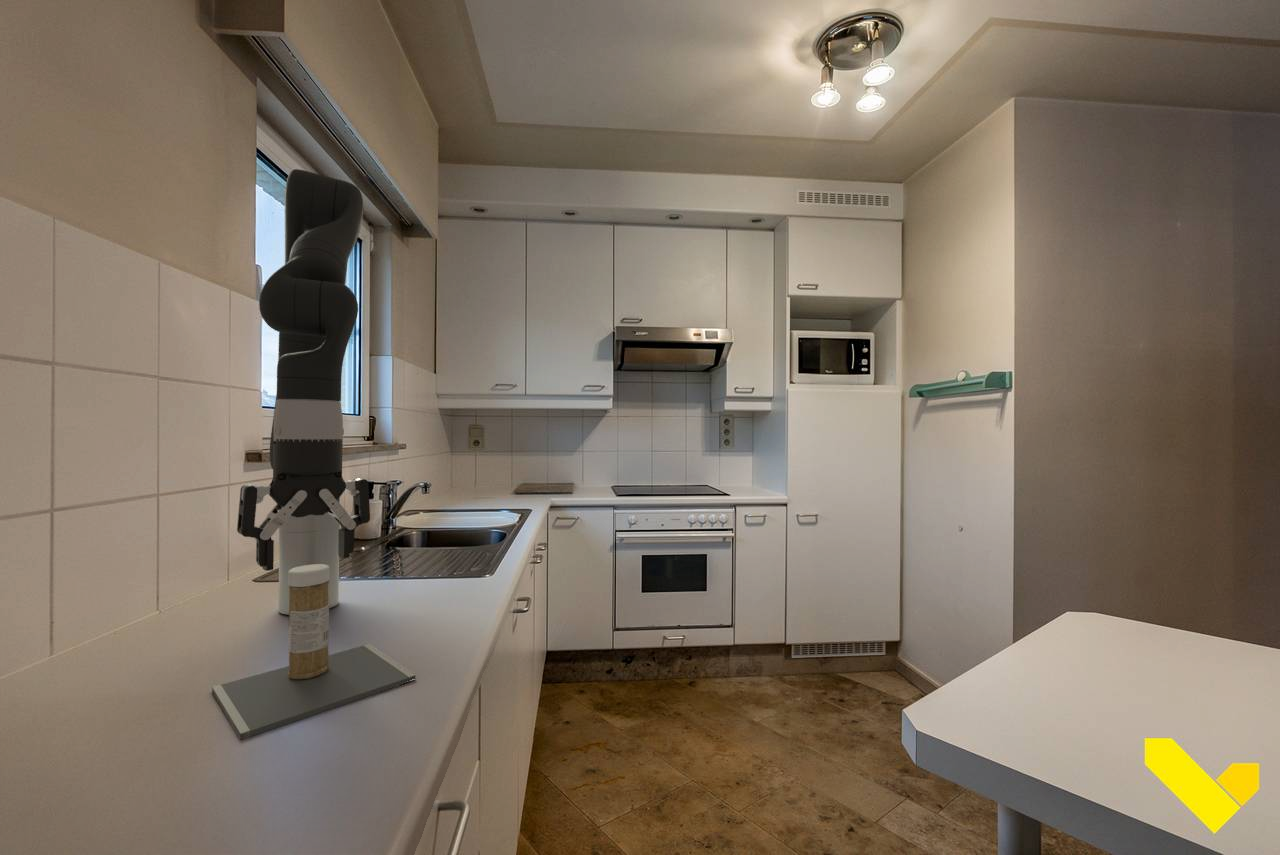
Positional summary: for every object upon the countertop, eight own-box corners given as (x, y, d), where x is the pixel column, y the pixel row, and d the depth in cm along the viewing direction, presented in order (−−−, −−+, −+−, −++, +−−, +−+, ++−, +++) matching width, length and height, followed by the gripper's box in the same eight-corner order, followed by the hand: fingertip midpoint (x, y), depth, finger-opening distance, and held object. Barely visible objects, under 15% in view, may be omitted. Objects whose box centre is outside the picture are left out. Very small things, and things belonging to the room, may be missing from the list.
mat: (212, 692, 64) (212, 686, 64) (368, 648, 77) (369, 643, 77) (240, 739, 54) (240, 733, 54) (415, 680, 67) (415, 674, 67)
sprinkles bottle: (302, 665, 70) (303, 563, 70) (337, 665, 70) (337, 562, 70) (278, 681, 66) (279, 571, 66) (315, 681, 66) (315, 571, 66)
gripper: (357, 435, 76) (356, 549, 76) (233, 435, 65) (231, 567, 65) (378, 436, 71) (377, 558, 71) (247, 437, 60) (245, 580, 60)
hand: (307, 563), depth 68 cm, fingers open, 8 cm apart
